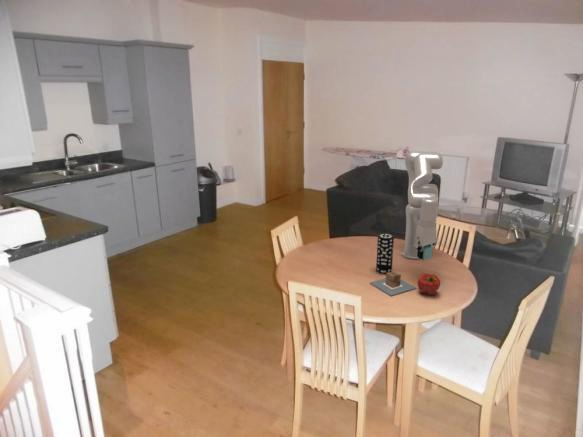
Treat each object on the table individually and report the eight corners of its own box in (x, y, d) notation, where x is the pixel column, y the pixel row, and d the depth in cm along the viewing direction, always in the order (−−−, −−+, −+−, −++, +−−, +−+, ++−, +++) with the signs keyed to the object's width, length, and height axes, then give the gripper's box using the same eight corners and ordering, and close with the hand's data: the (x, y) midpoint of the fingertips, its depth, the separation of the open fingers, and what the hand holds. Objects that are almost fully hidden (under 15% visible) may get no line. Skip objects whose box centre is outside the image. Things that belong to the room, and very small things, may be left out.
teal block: (424, 254, 216) (425, 243, 214) (431, 258, 212) (432, 247, 210) (416, 256, 214) (417, 245, 212) (424, 260, 210) (425, 249, 208)
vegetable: (444, 297, 199) (446, 277, 196) (424, 299, 197) (426, 280, 194) (432, 287, 209) (434, 268, 206) (413, 289, 207) (414, 270, 204)
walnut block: (393, 281, 213) (394, 270, 212) (400, 285, 209) (401, 274, 208) (385, 284, 211) (386, 272, 209) (392, 287, 207) (393, 276, 205)
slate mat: (394, 276, 221) (394, 275, 221) (416, 288, 207) (416, 287, 207) (369, 283, 214) (369, 282, 213) (391, 296, 200) (391, 295, 200)
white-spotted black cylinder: (382, 275, 222) (384, 239, 216) (372, 269, 229) (374, 235, 223) (395, 272, 226) (397, 237, 220) (385, 266, 233) (387, 232, 227)
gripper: (434, 217, 213) (431, 250, 220) (408, 223, 206) (406, 257, 212) (446, 221, 207) (442, 255, 213) (420, 228, 200) (416, 263, 206)
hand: (424, 256), depth 213 cm, fingers closed on teal block, 4 cm apart
